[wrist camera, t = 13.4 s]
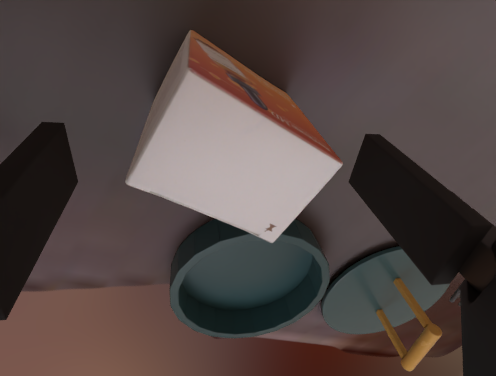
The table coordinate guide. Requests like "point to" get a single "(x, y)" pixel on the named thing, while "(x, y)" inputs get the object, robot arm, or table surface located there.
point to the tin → (246, 279)
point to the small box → (230, 144)
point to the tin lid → (384, 301)
